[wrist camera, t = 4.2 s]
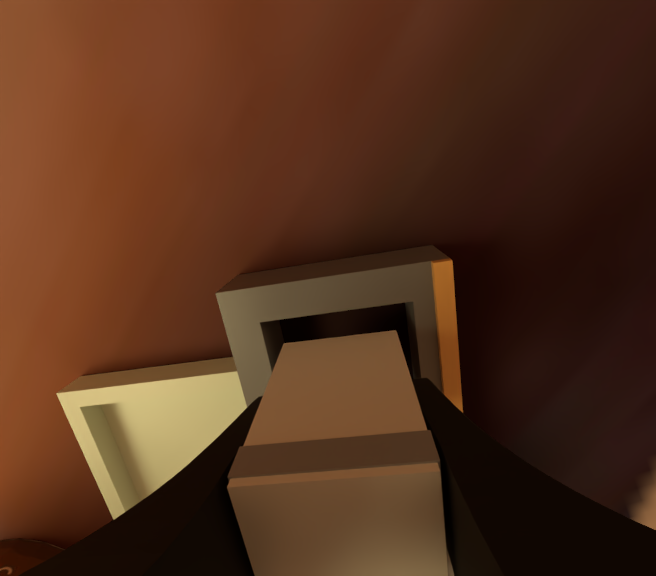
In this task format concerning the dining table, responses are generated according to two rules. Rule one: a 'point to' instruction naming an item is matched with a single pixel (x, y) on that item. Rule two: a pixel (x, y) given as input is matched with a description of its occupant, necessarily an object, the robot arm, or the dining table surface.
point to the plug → (340, 466)
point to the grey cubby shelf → (340, 295)
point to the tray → (149, 423)
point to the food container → (24, 555)
